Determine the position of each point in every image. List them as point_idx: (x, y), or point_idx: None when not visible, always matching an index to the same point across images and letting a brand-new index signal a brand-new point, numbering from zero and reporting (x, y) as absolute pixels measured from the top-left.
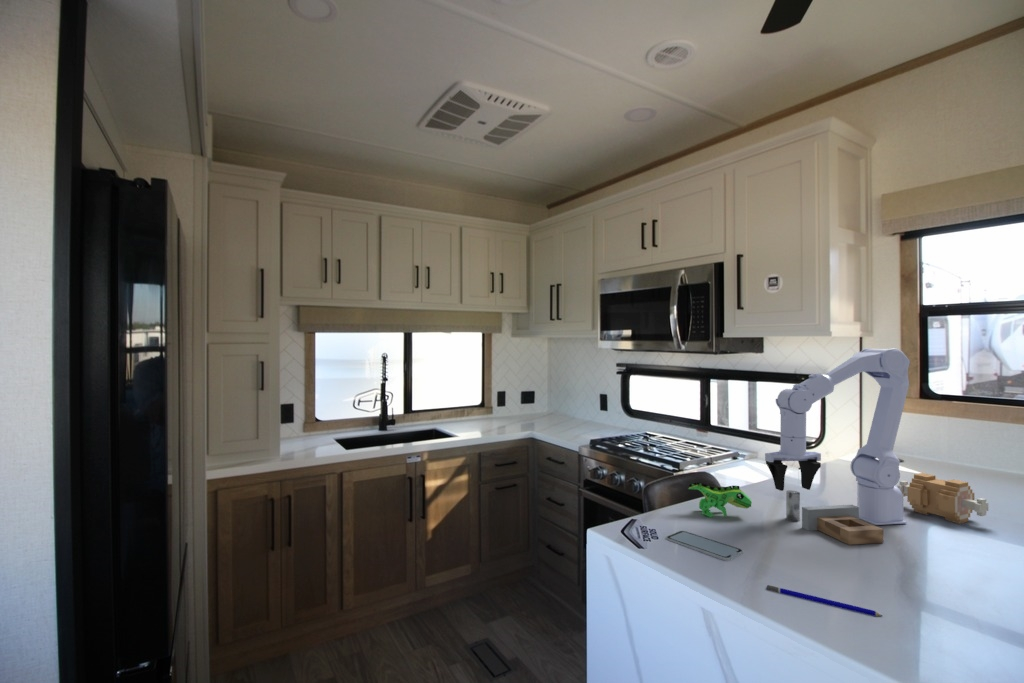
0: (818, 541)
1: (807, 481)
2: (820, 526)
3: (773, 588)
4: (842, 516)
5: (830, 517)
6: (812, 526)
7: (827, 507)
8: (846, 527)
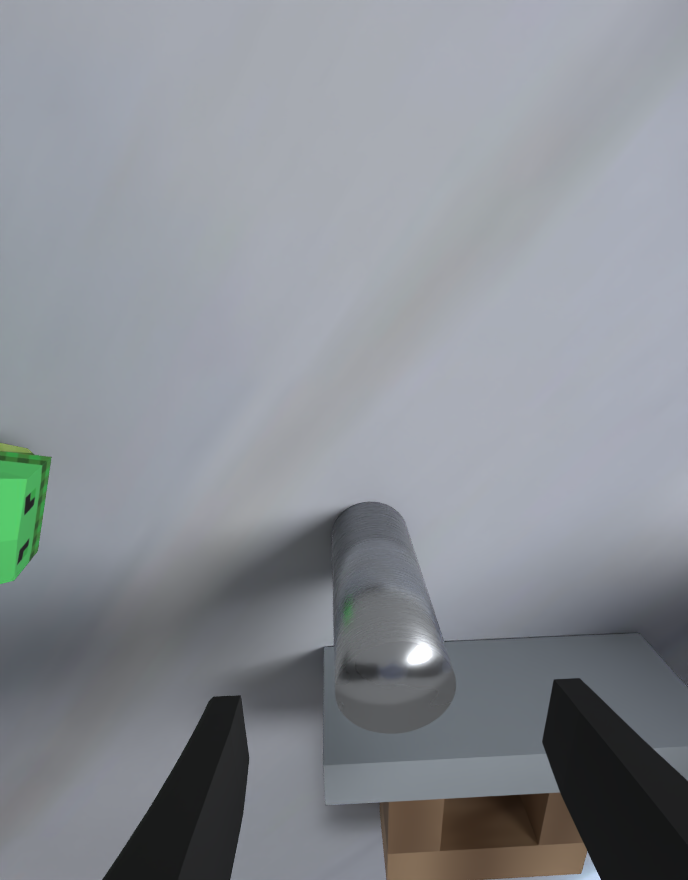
0: (278, 775)
1: (595, 834)
2: None
3: None
4: None
5: None
6: None
7: (502, 777)
8: (420, 854)
